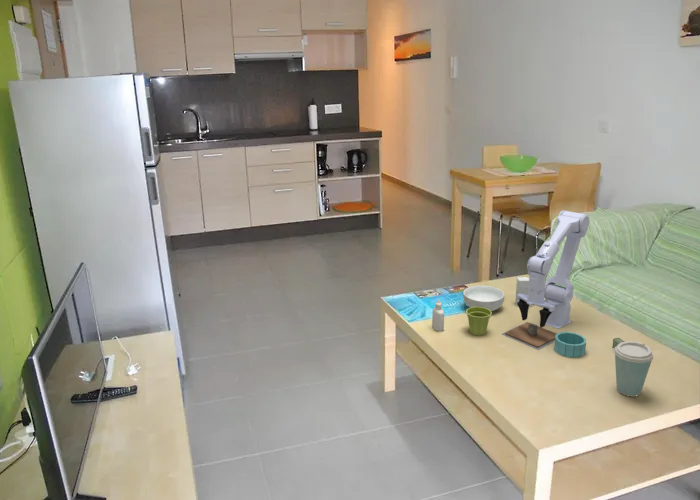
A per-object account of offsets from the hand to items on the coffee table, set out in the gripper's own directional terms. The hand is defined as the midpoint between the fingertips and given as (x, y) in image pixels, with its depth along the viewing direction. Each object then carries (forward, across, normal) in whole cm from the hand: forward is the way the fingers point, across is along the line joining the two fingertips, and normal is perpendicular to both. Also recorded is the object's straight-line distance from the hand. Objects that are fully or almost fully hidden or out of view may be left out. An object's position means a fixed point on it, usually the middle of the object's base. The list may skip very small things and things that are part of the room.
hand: (533, 323), depth 202 cm
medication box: (+6, +29, +12) cm, 32 cm away
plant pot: (+6, -15, -13) cm, 21 cm away
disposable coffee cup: (+6, +40, -9) cm, 41 cm away
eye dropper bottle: (+6, -27, -22) cm, 35 cm away
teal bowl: (+6, +15, 0) cm, 16 cm away
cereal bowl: (+6, -28, +6) cm, 29 cm away
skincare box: (+6, -19, +21) cm, 29 cm away
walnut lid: (+5, 0, 0) cm, 5 cm away
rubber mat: (+6, 0, 0) cm, 6 cm away
